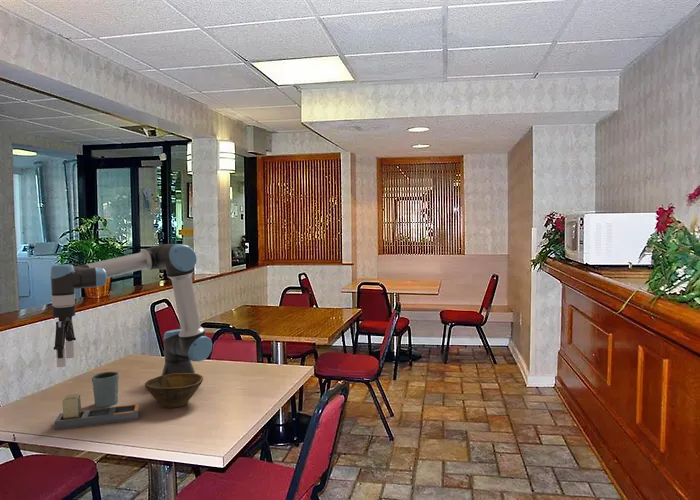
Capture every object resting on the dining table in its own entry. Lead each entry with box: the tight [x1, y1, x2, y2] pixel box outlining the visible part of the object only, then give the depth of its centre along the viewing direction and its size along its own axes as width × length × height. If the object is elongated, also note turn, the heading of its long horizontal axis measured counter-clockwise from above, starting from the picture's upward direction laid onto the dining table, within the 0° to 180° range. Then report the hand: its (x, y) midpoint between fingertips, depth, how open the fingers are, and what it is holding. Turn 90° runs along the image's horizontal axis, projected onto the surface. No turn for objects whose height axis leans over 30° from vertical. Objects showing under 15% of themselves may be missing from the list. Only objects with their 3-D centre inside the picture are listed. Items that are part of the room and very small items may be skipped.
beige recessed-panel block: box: [62, 393, 82, 420], centre depth 196 cm, size 5×5×10 cm
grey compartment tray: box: [54, 403, 141, 431], centre depth 199 cm, size 28×9×3 cm, turn 108°
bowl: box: [144, 372, 204, 409], centre depth 216 cm, size 22×23×10 cm
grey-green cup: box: [91, 371, 120, 408], centre depth 218 cm, size 10×10×12 cm
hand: (65, 362), depth 199 cm, fingers open, 13 cm apart
